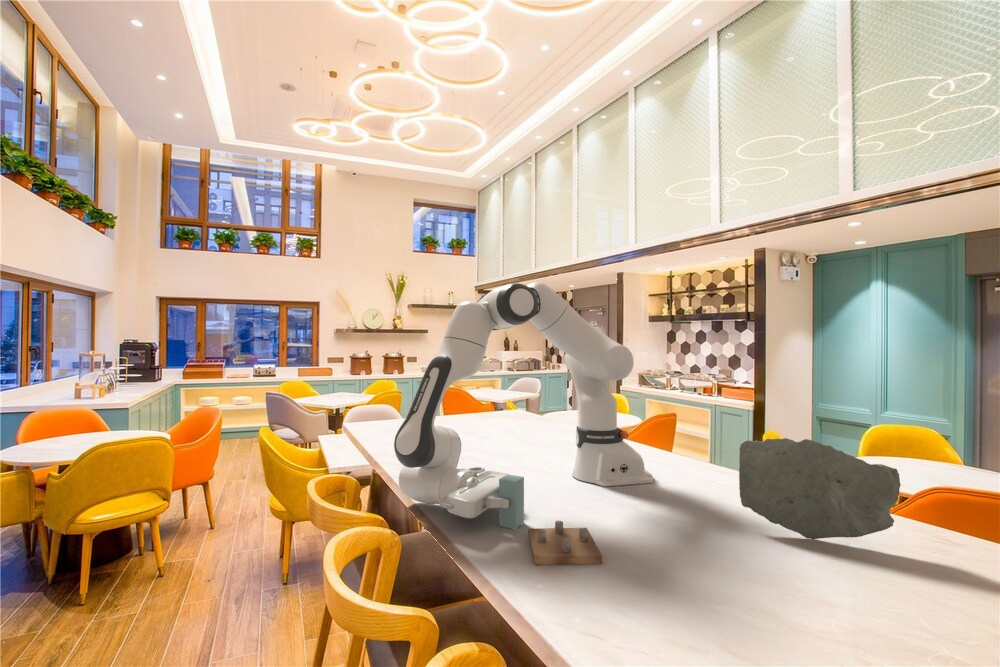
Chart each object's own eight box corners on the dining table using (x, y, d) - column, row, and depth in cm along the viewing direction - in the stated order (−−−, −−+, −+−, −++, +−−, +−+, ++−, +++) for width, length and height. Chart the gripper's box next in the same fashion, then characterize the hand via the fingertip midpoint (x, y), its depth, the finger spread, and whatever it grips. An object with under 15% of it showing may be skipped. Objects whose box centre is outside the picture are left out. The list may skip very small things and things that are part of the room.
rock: (895, 547, 90) (895, 443, 90) (904, 561, 84) (904, 450, 84) (739, 521, 103) (739, 430, 103) (738, 531, 97) (738, 435, 97)
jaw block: (499, 525, 100) (499, 479, 100) (507, 519, 104) (507, 474, 104) (516, 529, 98) (516, 482, 98) (523, 522, 102) (523, 476, 102)
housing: (586, 534, 96) (586, 517, 96) (601, 563, 84) (601, 544, 84) (528, 535, 95) (528, 518, 95) (535, 565, 83) (535, 545, 83)
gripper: (434, 489, 98) (492, 499, 91) (482, 464, 116) (533, 472, 110) (434, 519, 98) (492, 532, 91) (482, 490, 116) (534, 499, 110)
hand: (515, 499), depth 101 cm, fingers closed on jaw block, 4 cm apart
